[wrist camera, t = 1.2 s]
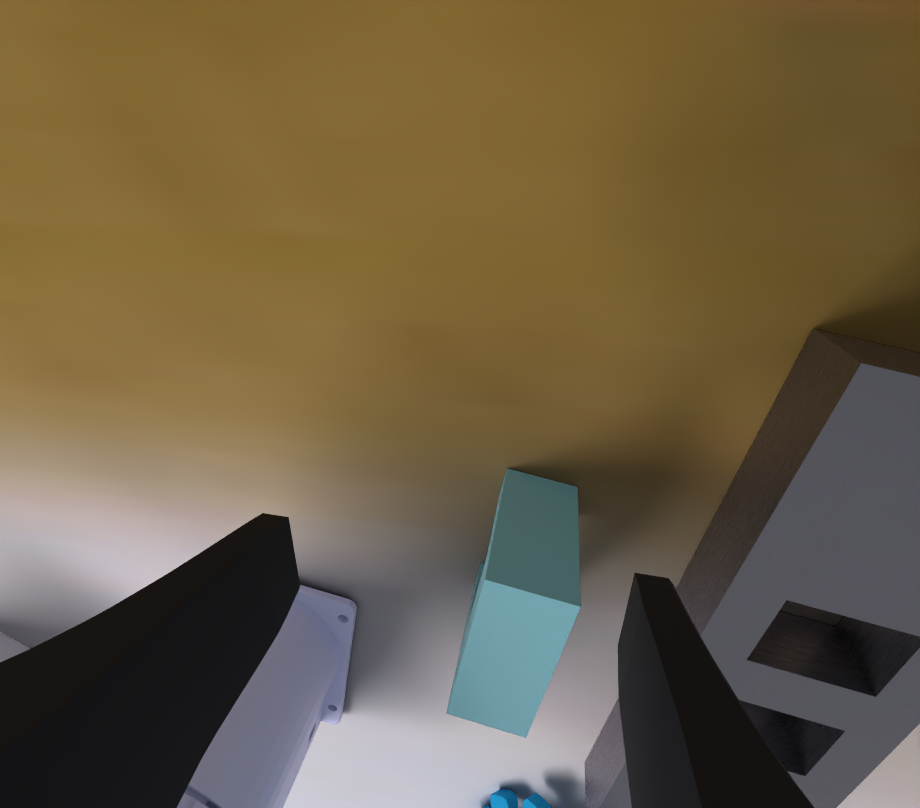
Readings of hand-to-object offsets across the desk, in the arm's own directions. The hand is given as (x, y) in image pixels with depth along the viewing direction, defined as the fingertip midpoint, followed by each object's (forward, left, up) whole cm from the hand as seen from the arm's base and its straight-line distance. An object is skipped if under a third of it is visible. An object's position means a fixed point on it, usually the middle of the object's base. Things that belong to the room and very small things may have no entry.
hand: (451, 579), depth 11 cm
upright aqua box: (-6, -2, -9) cm, 11 cm away
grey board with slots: (-7, -13, -9) cm, 17 cm away
